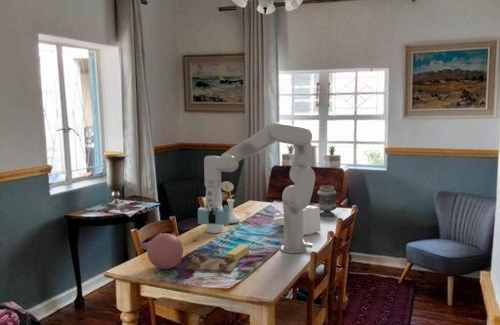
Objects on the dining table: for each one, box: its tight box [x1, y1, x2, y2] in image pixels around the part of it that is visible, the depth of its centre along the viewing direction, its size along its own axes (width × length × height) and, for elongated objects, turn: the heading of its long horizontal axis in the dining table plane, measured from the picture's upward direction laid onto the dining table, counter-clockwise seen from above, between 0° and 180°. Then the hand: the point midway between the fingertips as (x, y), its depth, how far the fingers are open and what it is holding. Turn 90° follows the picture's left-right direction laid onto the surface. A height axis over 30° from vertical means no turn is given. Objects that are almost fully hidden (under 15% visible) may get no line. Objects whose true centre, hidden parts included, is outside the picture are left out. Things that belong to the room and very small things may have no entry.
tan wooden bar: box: [225, 244, 250, 262], centre depth 210 cm, size 4×14×4 cm, turn 154°
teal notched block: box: [197, 204, 231, 226], centre depth 207 cm, size 14×4×8 cm, turn 78°
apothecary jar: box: [316, 185, 338, 218], centre depth 284 cm, size 12×12×18 cm
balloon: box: [140, 232, 184, 270], centre depth 197 cm, size 15×20×15 cm
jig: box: [186, 253, 239, 274], centre depth 198 cm, size 20×12×4 cm, turn 77°
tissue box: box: [272, 204, 322, 236], centre depth 253 cm, size 15×25×28 cm
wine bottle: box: [206, 205, 225, 234], centre depth 250 cm, size 10×10×30 cm
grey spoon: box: [221, 180, 241, 224], centre depth 269 cm, size 13×11×25 cm
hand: (214, 221), depth 208 cm, fingers closed on teal notched block, 4 cm apart
